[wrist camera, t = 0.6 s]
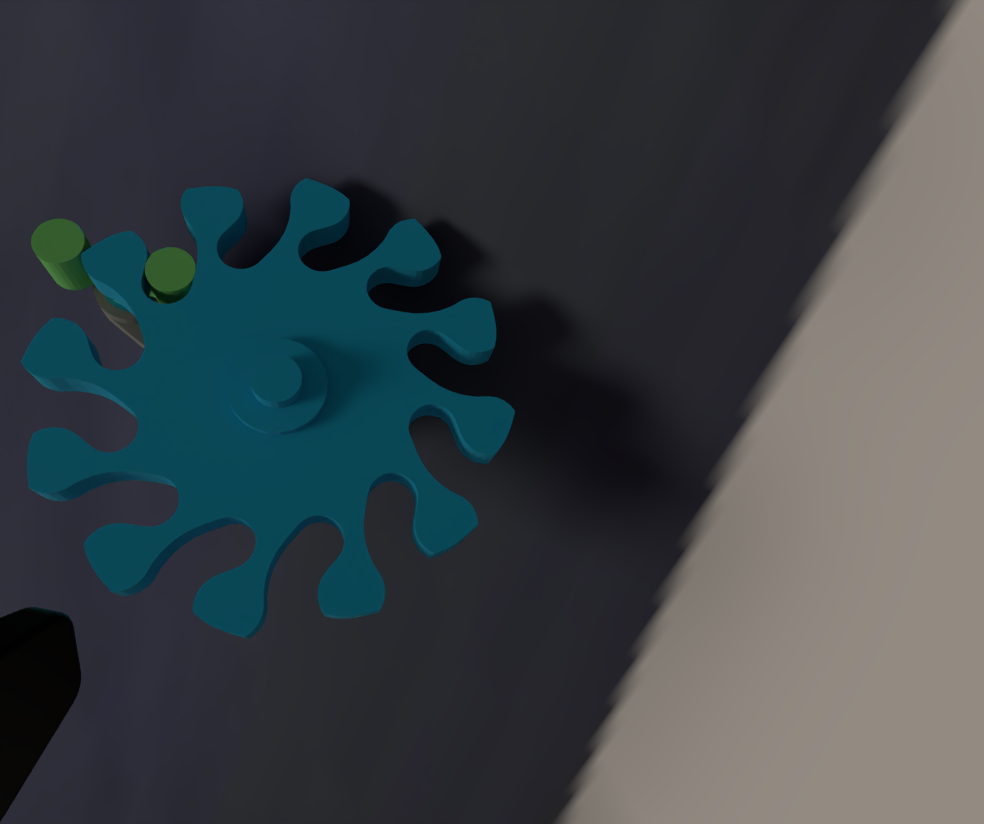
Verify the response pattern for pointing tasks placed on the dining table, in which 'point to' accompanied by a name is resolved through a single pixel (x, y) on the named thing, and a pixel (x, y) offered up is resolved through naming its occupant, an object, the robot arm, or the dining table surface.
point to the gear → (260, 396)
